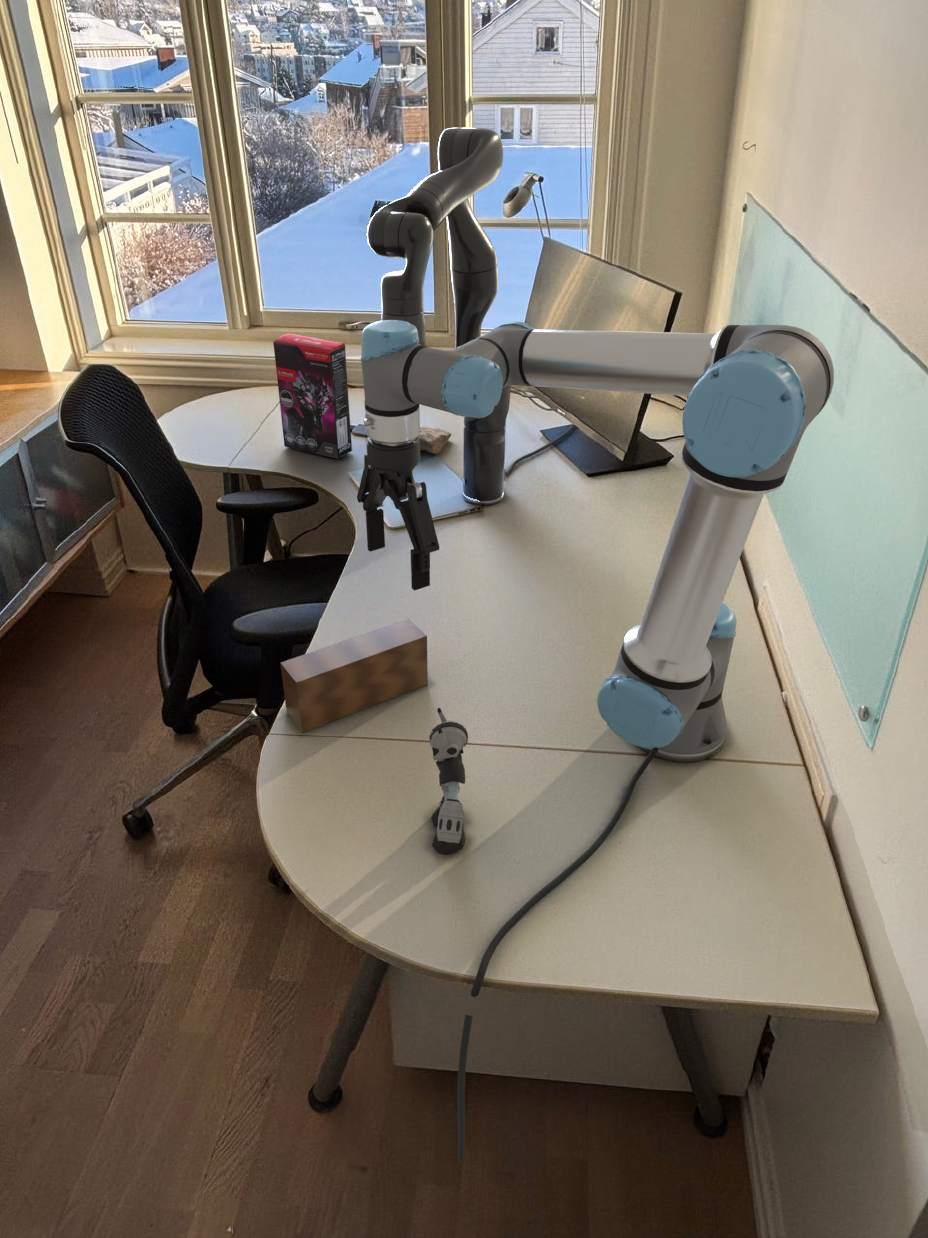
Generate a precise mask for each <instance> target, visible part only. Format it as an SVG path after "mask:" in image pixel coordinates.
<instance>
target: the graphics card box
mask: <svg viewBox="0 0 928 1238" xmlns="http://www.w3.org/2000/svg"><path fill="white" fill-rule="evenodd" d="M272 344H273V345H272V346H273V349H274V350H273V353H274V361H275V362H274V363H275V371H276V380H277V381H276V382H277V390H278V398H279V399H278V400H279V408H280V417H281V418H280V419H281V428H282V435H283V436H282V437H283V446H284V447H285V448H289V449H294V450H298V451H302V452H306V453H311V454H315V455H319V456H323V457H328V458H333V459H336V460H338V459H339V460H340V458H342V457H344V456H346V455H347V454H349V453H350V452H352V451H353V446H352V429H351V415H350V402H349V401H350V400H349V385H348V370H347V356H346V343H345V342H339V341H338V342H337V341H333V340H327V339H321V338H317V337H311V336H305V335H300V334H295V333H289V332H288V333H285V334H282V335H280V336H279V337H277V338H276V339H274V340H273V342H272Z"/></svg>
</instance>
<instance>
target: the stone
mask: <svg viewBox="0 0 928 1238" xmlns="http://www.w3.org/2000/svg"><path fill="white" fill-rule="evenodd" d="M451 436H452V433H451V432H450V431H447V430H445V429H441V428H440V427H439V428H438V427H430V426H427V425H426V426H425V425H420V434H419V435H418V437H419V438H420V451H425V452H429V453H430V454H433V455H438V454H439V453H440V452H441V451H442V450H443V446H445V445H446V443H447V442H448V441H449V440H450V438H451Z"/></svg>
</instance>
